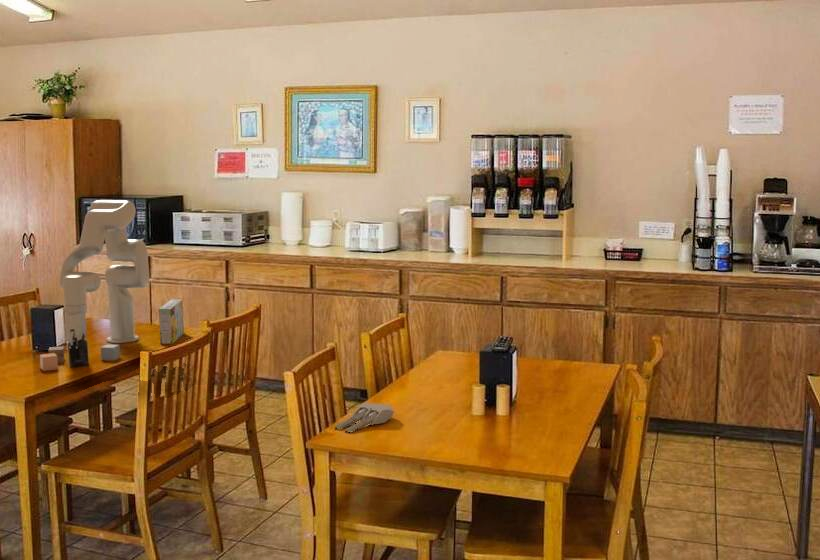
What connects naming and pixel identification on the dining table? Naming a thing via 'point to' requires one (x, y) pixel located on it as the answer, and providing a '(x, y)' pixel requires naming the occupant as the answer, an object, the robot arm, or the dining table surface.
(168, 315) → the snack box
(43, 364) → the terracotta block
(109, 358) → the slate block
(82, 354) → the supplement bottle
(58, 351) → the walnut block
